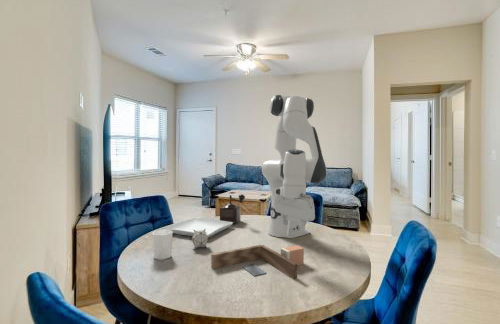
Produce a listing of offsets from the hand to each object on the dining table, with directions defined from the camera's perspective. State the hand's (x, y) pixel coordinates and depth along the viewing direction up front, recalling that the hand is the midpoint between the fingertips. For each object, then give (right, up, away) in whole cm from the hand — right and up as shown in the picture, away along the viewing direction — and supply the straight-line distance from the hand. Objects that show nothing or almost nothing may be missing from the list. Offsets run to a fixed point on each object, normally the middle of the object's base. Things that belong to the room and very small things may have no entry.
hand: (292, 228), depth 106 cm
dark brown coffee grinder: (-26, -12, +62) cm, 68 cm away
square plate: (-43, -13, +44) cm, 63 cm away
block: (0, -14, +1) cm, 14 cm away
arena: (-16, -14, -7) cm, 22 cm away
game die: (-39, -13, +18) cm, 45 cm away
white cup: (-52, -13, +7) cm, 54 cm away
